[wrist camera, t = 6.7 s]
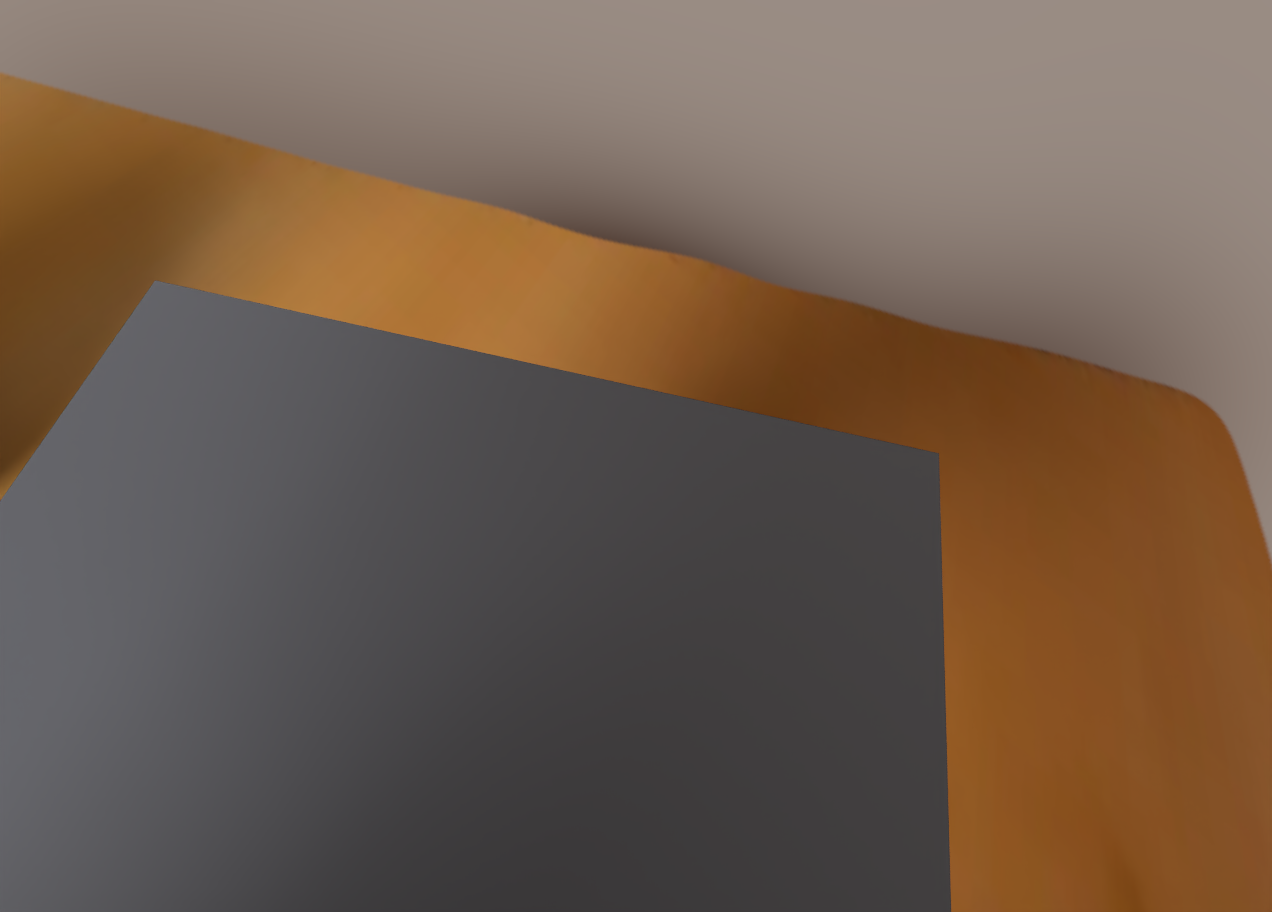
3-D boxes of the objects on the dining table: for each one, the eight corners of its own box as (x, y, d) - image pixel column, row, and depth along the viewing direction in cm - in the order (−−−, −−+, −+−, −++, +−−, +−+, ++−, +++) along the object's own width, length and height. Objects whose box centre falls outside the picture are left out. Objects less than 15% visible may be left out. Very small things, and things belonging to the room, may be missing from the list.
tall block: (622, 884, 13) (984, 2096, 2) (406, 838, 13) (-858, 1722, 2) (660, 658, 16) (938, 454, 4) (474, 617, 15) (155, 280, 4)
